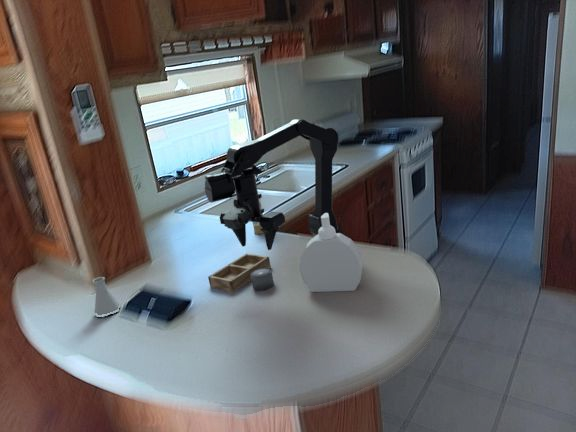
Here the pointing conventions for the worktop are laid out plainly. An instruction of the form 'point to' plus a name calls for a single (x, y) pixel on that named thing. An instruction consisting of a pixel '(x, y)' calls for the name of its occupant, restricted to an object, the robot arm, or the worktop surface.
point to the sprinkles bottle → (257, 224)
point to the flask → (104, 298)
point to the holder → (238, 272)
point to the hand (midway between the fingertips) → (256, 247)
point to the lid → (262, 279)
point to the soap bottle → (331, 261)
